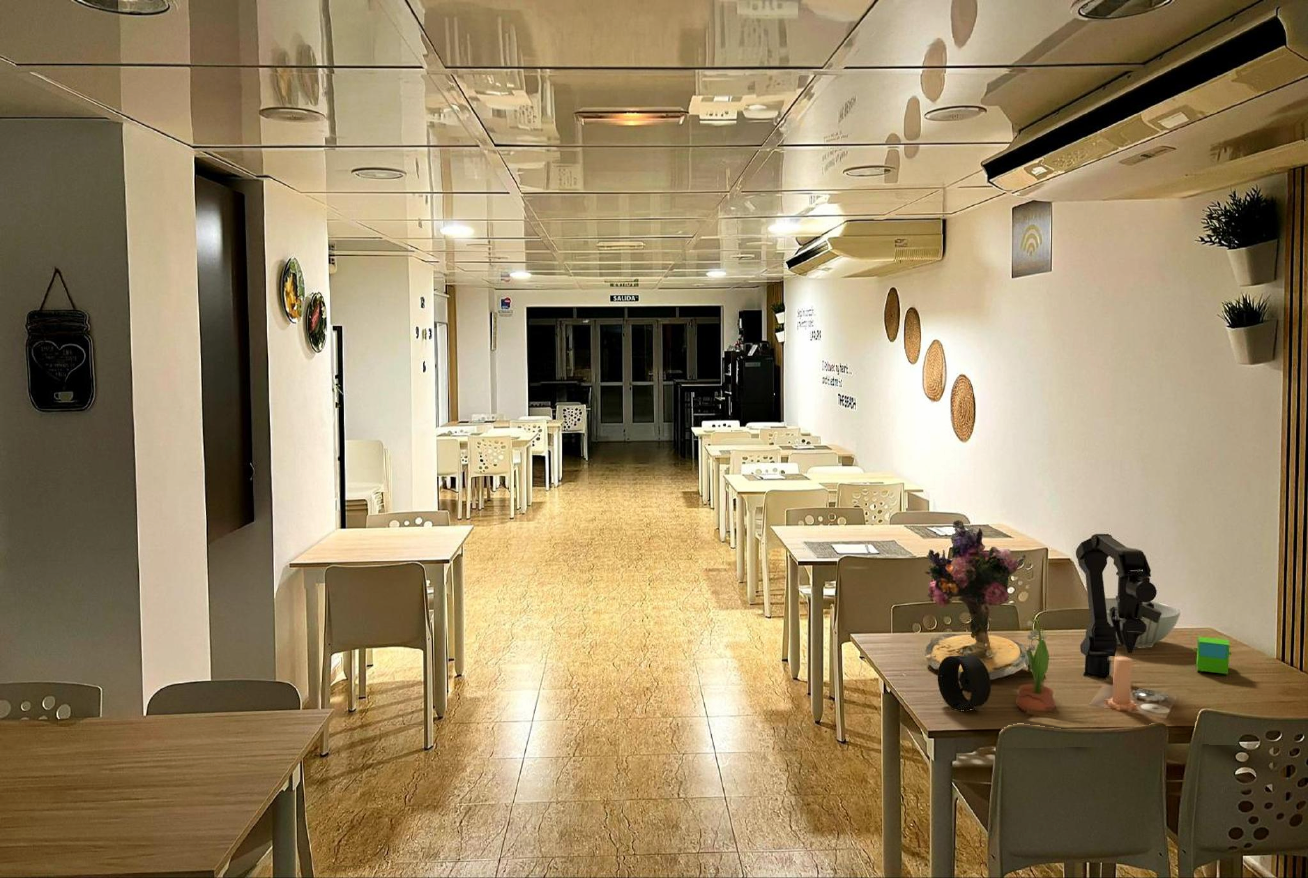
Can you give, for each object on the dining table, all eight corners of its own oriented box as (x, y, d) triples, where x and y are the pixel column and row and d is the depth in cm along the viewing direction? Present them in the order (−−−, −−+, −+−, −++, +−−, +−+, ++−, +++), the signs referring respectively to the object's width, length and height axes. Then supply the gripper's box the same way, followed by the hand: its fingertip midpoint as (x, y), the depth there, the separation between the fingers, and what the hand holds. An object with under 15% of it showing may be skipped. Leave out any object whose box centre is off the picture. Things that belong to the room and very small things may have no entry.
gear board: (1088, 709, 291) (1088, 703, 291) (1103, 689, 309) (1104, 683, 309) (1165, 724, 281) (1165, 717, 281) (1176, 702, 298) (1177, 695, 298)
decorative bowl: (1143, 659, 339) (1145, 621, 338) (1072, 638, 362) (1073, 603, 361) (1195, 647, 353) (1197, 611, 352) (1123, 628, 376) (1125, 594, 375)
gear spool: (1103, 707, 289) (1105, 659, 288) (1108, 699, 295) (1110, 653, 294) (1133, 712, 285) (1136, 664, 284) (1138, 705, 291) (1141, 657, 290)
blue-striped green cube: (1228, 666, 333) (1230, 634, 332) (1231, 678, 321) (1233, 645, 320) (1192, 661, 337) (1193, 630, 336) (1193, 673, 325) (1195, 641, 324)
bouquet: (882, 666, 316) (902, 516, 326) (949, 683, 348) (966, 546, 358) (990, 682, 294) (1009, 521, 304) (1051, 699, 326) (1066, 553, 336)
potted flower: (1006, 701, 297) (1010, 612, 295) (1041, 701, 298) (1045, 612, 296) (1025, 716, 285) (1029, 623, 283) (1061, 716, 286) (1065, 623, 284)
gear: (1129, 699, 296) (1130, 693, 295) (1135, 691, 303) (1135, 684, 303) (1164, 705, 291) (1165, 699, 291) (1169, 696, 298) (1170, 690, 298)
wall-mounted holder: (1003, 660, 286) (973, 664, 282) (1001, 713, 288) (971, 718, 284) (967, 646, 300) (938, 649, 296) (965, 697, 301) (936, 701, 297)
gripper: (1168, 603, 291) (1165, 660, 293) (1151, 589, 310) (1149, 642, 311) (1123, 601, 294) (1121, 657, 295) (1110, 587, 312) (1108, 640, 313)
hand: (1126, 649), depth 303 cm, fingers open, 9 cm apart
